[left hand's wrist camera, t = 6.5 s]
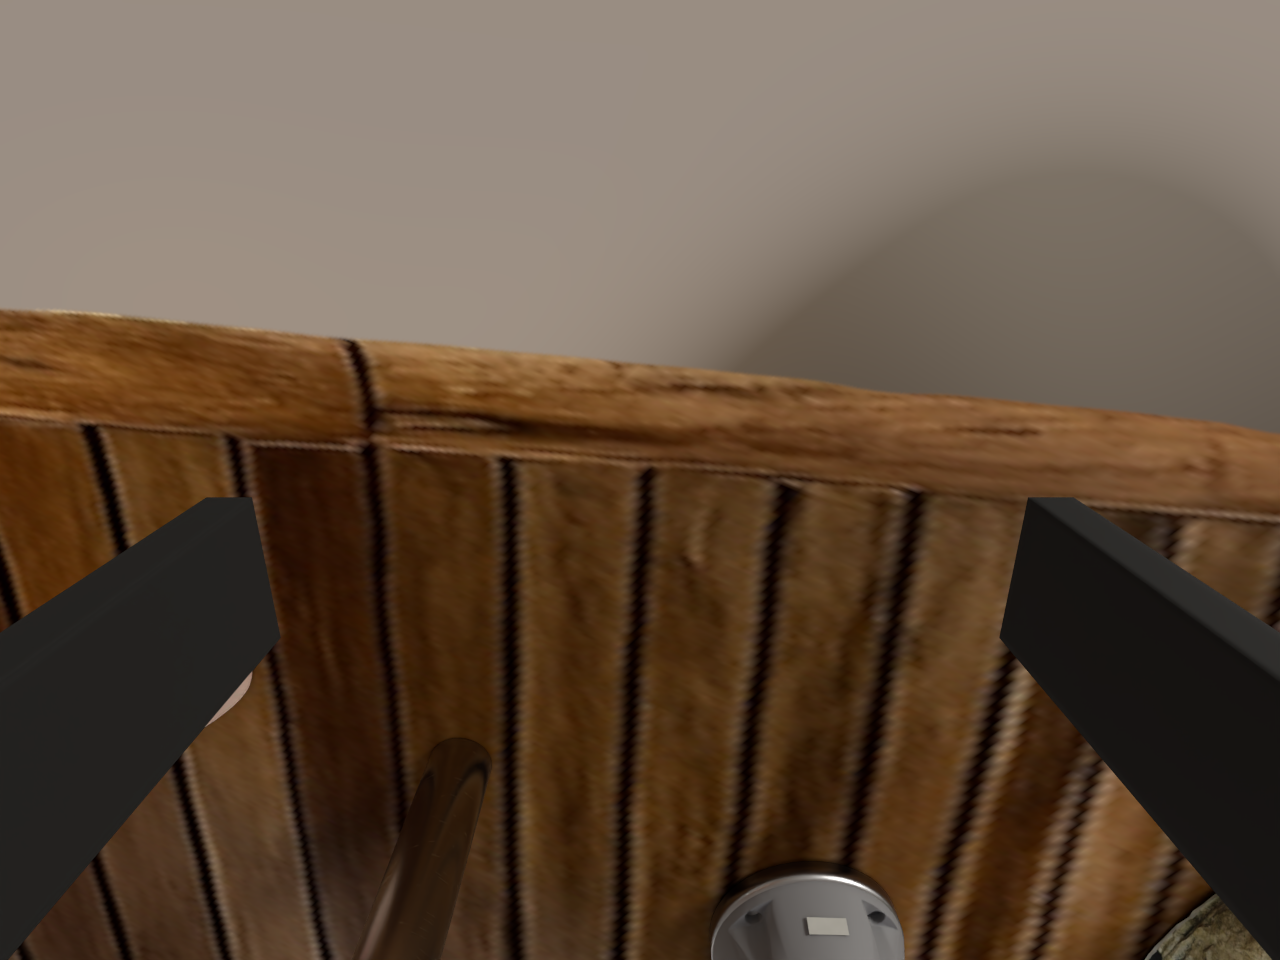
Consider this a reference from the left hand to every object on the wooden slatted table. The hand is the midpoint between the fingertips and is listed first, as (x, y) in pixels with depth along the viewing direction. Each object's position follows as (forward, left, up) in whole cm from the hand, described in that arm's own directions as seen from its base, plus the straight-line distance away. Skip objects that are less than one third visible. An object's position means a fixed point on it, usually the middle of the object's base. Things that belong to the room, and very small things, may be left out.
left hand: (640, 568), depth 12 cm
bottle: (-32, +13, -31) cm, 47 cm away
